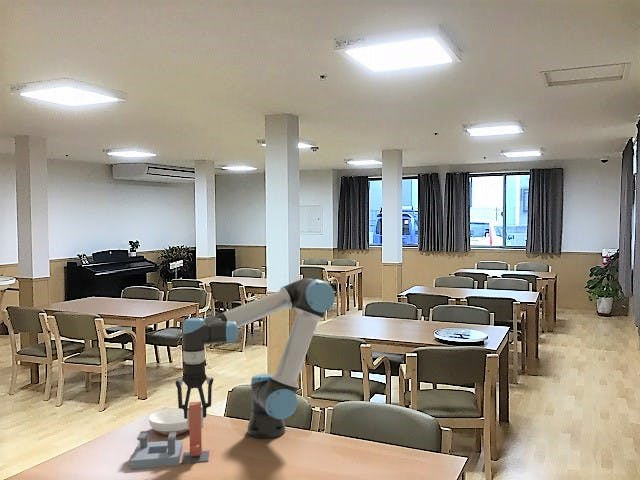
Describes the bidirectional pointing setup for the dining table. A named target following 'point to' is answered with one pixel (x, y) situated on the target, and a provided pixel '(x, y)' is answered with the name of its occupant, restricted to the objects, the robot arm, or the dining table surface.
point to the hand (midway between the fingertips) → (195, 426)
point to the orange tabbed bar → (195, 428)
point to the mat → (195, 457)
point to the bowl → (169, 421)
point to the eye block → (156, 452)
